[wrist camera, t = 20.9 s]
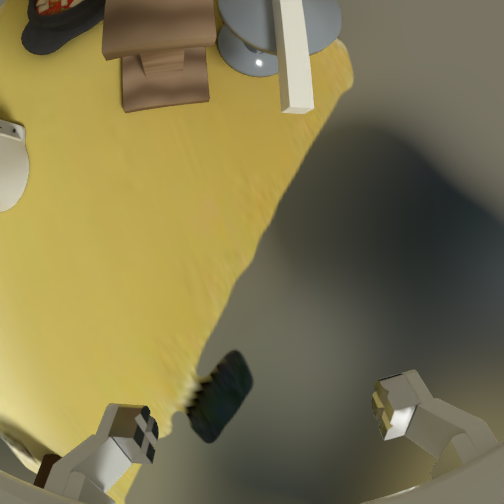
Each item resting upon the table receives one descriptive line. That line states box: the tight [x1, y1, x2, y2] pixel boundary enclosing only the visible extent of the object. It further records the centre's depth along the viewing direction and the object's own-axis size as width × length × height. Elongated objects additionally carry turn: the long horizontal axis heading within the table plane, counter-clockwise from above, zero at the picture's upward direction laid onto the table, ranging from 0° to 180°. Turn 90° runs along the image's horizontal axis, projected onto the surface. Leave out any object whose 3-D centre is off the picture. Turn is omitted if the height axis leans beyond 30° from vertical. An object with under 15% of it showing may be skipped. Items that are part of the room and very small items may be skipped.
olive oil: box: [33, 454, 61, 489], centre depth 41 cm, size 11×11×25 cm
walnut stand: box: [102, 0, 217, 113], centre depth 30 cm, size 18×14×26 cm
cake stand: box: [217, 0, 342, 77], centre depth 38 cm, size 18×18×16 cm
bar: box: [272, 0, 314, 114], centre depth 30 cm, size 24×3×3 cm, turn 3°
